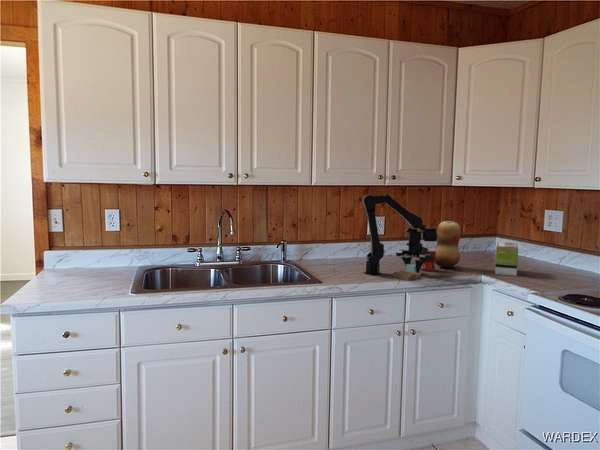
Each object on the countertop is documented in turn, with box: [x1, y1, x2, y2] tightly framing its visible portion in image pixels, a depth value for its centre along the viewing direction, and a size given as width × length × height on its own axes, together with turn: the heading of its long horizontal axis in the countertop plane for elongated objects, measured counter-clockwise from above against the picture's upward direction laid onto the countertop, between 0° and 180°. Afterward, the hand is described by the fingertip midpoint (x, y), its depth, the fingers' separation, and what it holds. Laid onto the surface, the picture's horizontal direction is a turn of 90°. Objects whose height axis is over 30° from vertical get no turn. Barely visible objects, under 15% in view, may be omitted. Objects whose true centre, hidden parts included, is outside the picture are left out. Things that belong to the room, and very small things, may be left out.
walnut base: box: [392, 269, 422, 281], centre depth 199 cm, size 9×9×2 cm
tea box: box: [494, 241, 519, 277], centre depth 212 cm, size 15×10×15 cm, turn 154°
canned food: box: [421, 247, 436, 273], centre depth 215 cm, size 8×8×11 cm
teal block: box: [405, 262, 422, 274], centre depth 205 cm, size 5×5×5 cm
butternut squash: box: [434, 220, 461, 269], centre depth 221 cm, size 14×13×25 cm
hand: (413, 272), depth 206 cm, fingers closed on teal block, 5 cm apart
